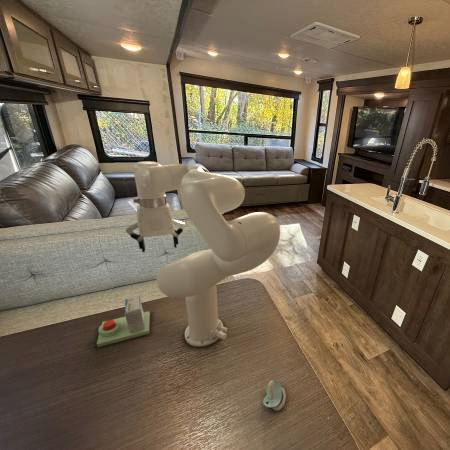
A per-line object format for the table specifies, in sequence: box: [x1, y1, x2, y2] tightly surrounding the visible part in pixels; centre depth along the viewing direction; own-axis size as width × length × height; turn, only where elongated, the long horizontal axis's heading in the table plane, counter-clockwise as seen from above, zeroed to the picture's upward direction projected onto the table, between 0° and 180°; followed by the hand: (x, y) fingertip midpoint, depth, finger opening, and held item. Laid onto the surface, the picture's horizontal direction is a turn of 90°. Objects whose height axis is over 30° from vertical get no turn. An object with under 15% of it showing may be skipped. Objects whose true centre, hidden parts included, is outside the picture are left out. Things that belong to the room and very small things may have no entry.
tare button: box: [103, 319, 115, 331], centre depth 82 cm, size 3×3×2 cm
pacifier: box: [262, 379, 287, 411], centre depth 67 cm, size 7×6×6 cm
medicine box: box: [124, 295, 145, 333], centre depth 84 cm, size 8×4×9 cm, turn 33°
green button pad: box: [96, 311, 151, 348], centre depth 84 cm, size 14×10×3 cm
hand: (160, 248), depth 86 cm, fingers open, 9 cm apart
